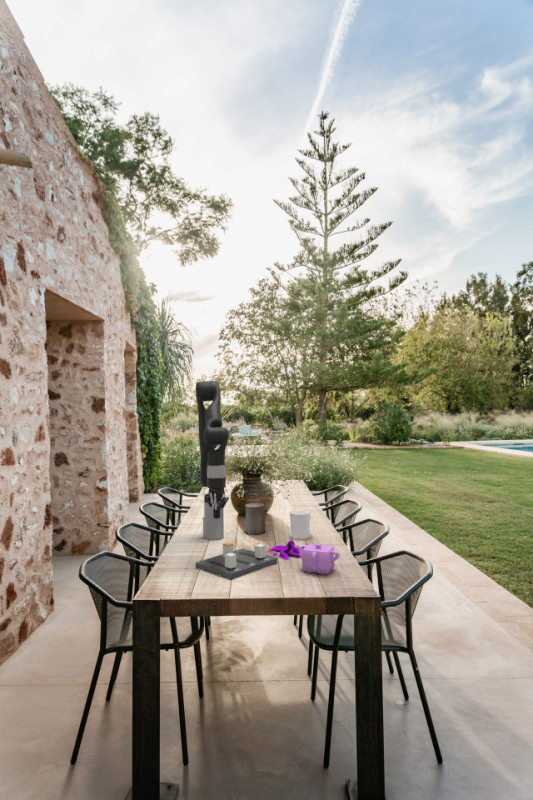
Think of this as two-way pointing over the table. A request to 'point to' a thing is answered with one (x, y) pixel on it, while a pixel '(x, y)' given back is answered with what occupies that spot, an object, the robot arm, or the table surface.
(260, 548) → the block
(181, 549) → the table surface
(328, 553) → the teapot
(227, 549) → the block
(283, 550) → the cloth
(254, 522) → the pillar candle
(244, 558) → the panel
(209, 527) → the robot arm
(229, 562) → the breaker
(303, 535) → the candle holder
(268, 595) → the table surface
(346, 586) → the table surface
